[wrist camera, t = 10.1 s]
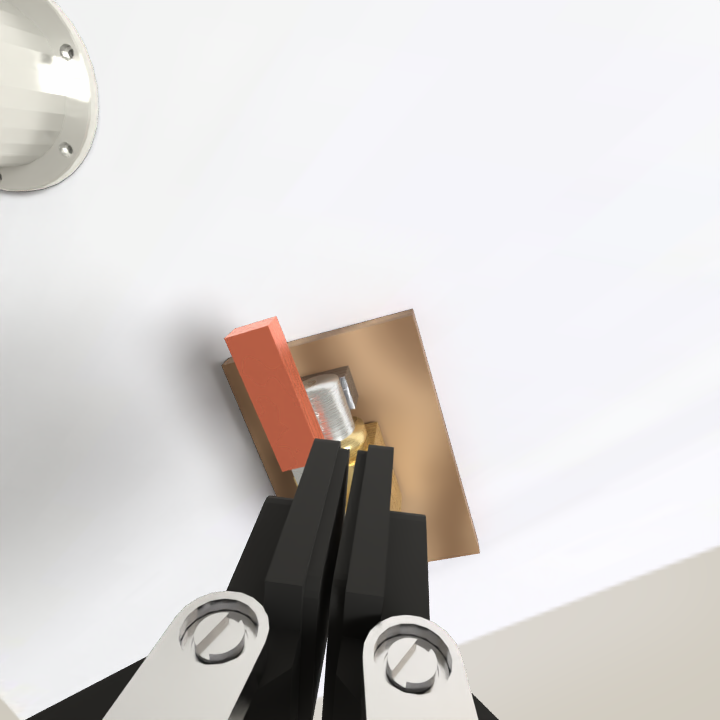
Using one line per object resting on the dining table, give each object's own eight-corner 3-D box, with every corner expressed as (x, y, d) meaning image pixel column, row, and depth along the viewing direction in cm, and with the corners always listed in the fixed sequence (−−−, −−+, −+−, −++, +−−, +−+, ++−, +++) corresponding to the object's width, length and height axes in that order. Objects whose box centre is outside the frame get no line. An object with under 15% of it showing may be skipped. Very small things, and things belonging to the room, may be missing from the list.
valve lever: (371, 548, 32) (368, 576, 30) (328, 557, 32) (322, 585, 30) (279, 314, 27) (267, 328, 25) (231, 329, 28) (215, 344, 25)
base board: (315, 567, 45) (312, 581, 44) (228, 358, 39) (221, 365, 37) (477, 540, 42) (479, 553, 41) (412, 308, 36) (412, 314, 34)
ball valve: (355, 553, 42) (342, 636, 35) (288, 376, 37) (256, 429, 30) (418, 542, 41) (418, 625, 34) (358, 358, 36) (343, 409, 29)
